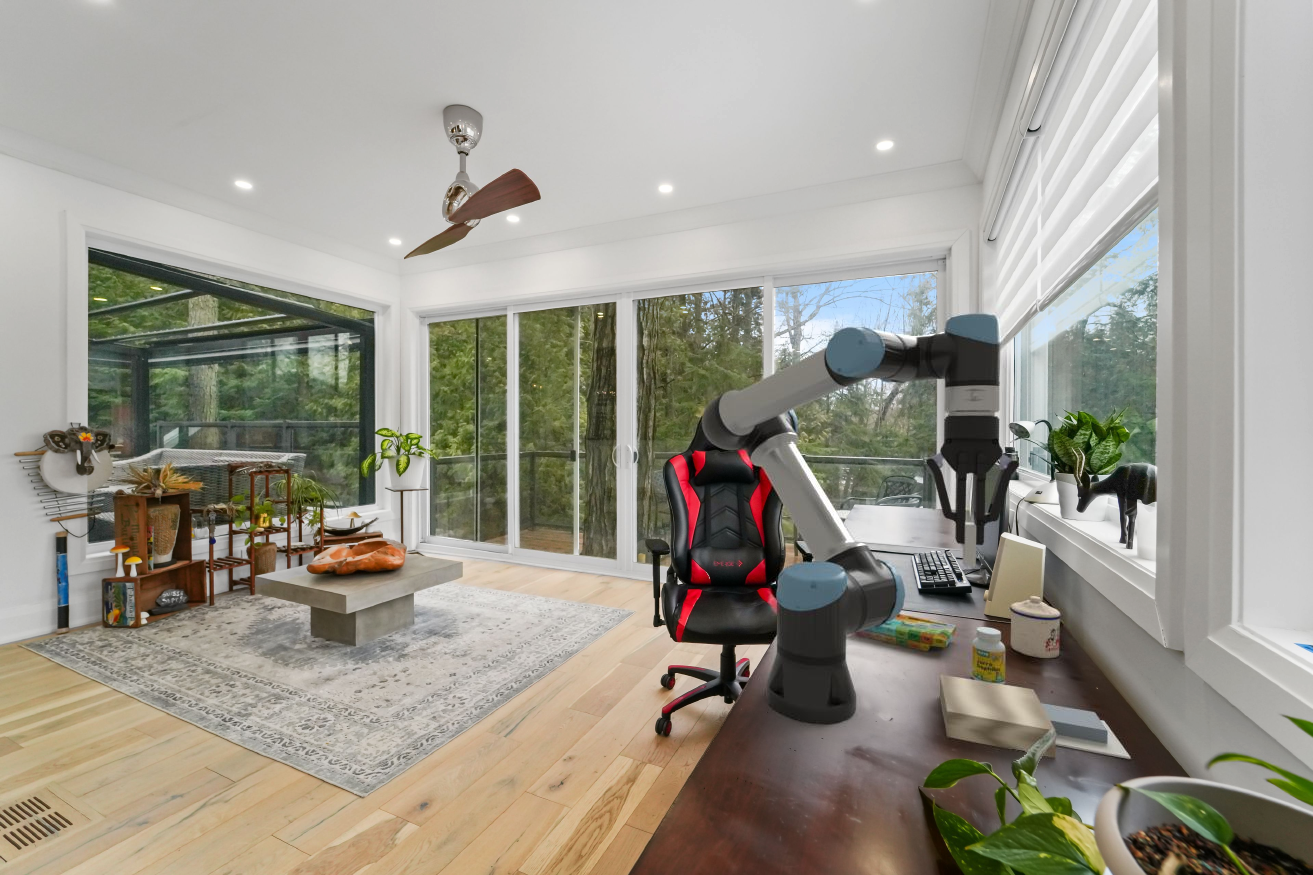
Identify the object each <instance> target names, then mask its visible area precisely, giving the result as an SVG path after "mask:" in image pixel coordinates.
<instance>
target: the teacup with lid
mask: <svg viewBox="0 0 1313 875" xmlns="http://www.w3.org/2000/svg"><path fill="white" fill-rule="evenodd" d="M1009 610H1010V611H1011V612H1010V614H1011V616H1010V647H1011V648H1012V649H1013V650H1014V651H1016V652H1017V653H1021V654H1023V655H1025V656H1030V657H1034V658H1040V659H1053V658H1057V657H1058V656H1059V655H1060V619H1061V618H1062V615H1061V612H1060V611H1059V610H1058V609H1057V608H1054V607H1052V606H1049V605H1048V604H1046V603H1045V602H1043V601H1042V599H1041V597H1039V596H1035V595H1032V596H1030V597H1029V599H1027V600H1024V601H1021V602H1020V601H1019V602H1014V603H1012V604H1011V605H1010V607H1009Z"/></svg>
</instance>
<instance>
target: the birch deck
mask: <svg viewBox="0 0 1313 875" xmlns="http://www.w3.org/2000/svg"><path fill="white" fill-rule="evenodd" d="M939 699H940V705H941V711H942V716H943V722H944V727H945V733H946V738H950V739H951V738H953V739H956V740H957V739H958V740H963V741H967V742H971V743H978V744H983V745H987V746H993V747H996V748H997V747H998V748H1003V749H1008V750H1012V749H1021V750H1025V752H1024V753H1027V751H1028V750H1029V749H1030V748H1031V747H1032V746H1033V745H1034V744H1035V743H1036V742H1037V741H1038V740H1039V739H1041V738H1042V737H1043V735H1045V734H1046V733H1047V732H1048V731H1049V730H1051V729H1054V730H1055V728H1054V727H1053V725H1052V723H1051V721H1050V719H1049V717H1048V716H1047V714H1046V712H1045V710H1044V708H1043V706H1042V705H1041V703H1042V702H1041V701H1040V699H1039V697H1038V695H1037V694H1036V692H1035V690H1034V689H1032V688H1027V687H1020V686H1014V685H1008V684H1004V685H1003V684H996V683H990V682H984V681H977V680H975V679H970V678H964V677H958V676H957V677H956V676H951V675H945V674H939ZM1055 732H1056V730H1055ZM1056 746H1057V745H1056V739H1055V741H1054V742H1053V744H1052V745H1051V746H1050V747H1049V748H1048V749H1047V750H1046V752H1045V753H1044V755H1043V757H1047V758H1052V759H1053V758H1054V759H1056Z"/></svg>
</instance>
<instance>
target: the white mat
mask: <svg viewBox="0 0 1313 875" xmlns="http://www.w3.org/2000/svg"><path fill="white" fill-rule="evenodd" d="M1100 721H1101V722H1102V723H1103V725H1104V726H1105V728H1106V729H1107V730H1108V742H1107V744H1106V743H1100V742H1095V741H1090V740H1084V739H1079V738H1073V737H1068V736H1062V735H1057V736H1056V746H1059V747H1064V748H1069V749H1073V750H1079V751H1084V752H1090V753H1094V754H1095V753H1096V754H1100V755H1106V756H1110V757H1116V758H1122V759H1125V760H1131V759H1132V758H1131V756H1130V754H1129V753H1128V751H1127V750H1126V749H1125V748H1124V746H1123V744H1122V743H1121V742H1120V741H1119V739H1118V738H1117V736H1116V735H1115V734H1114V732H1113V731H1112V730H1111V728H1110V727H1109V725H1108V724H1107V723H1106V722H1105V720H1100Z"/></svg>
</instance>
